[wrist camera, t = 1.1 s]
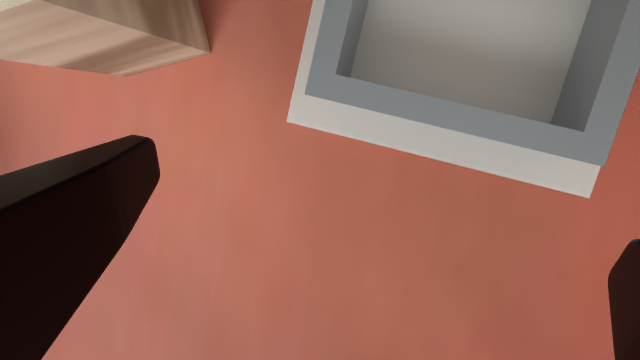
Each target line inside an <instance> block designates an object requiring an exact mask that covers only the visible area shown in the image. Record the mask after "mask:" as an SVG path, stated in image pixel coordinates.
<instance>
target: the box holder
mask: <svg viewBox="0 0 640 360" xmlns="http://www.w3.org/2000/svg"><path fill="white" fill-rule="evenodd" d="M639 68H640V0H313V3H312V8H311V12H310V17H309V21H308V26H307V30H306V35H305V39H304V44H303V48H302V53H301V57H300V62H299V66H298V71H297V75H296V80H295V85H294V89H293V94H292V98H291V103H290V107H289V112H288V116H287V121H286V122H290V123H294V124H298V125H302V126H306V127H309V128H313V129H317V130H321V131H325V132H329V133H333V134H337V135H341V136H345V137H349V138H353V139H357V140H361V141H365V142H369V143H373V144H377V145H381V146H384V147H388V148H392V149H396V150H400V151H404V152H408V153H412V154H416V155H420V156H424V157H428V158H432V159H436V160H440V161H444V162H448V163H452V164H456V165H459V166H463V167H467V168H471V169H475V170H479V171H483V172H487V173H491V174H495V175H499V176H503V177H507V178H511V179H515V180H519V181H523V182H527V183H531V184H534V185H538V186H542V187H546V188H550V189H554V190H558V191H562V192H566V193H570V194H574V195H578V196H582V197H586V198H590V195H591V192H592V190H593V187H594V184H595V181H596V178H597V176H598V173H599V170H600V167H601V166H602V167H604V166H605V163H606V160H607V157H608V155H609V152H610V149H611V146H612V143H613V141H614V138H615V135H616V132H617V130H618V127H619V124H620V121H621V118H622V116H623V113H624V110H625V107H626V105H627V102H628V99H629V96H630V93H631V91H632V88H633V85H634V82H635V80H636V77H637V74H638V71H639Z"/></svg>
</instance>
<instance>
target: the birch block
mask: <svg viewBox="0 0 640 360" xmlns="http://www.w3.org/2000/svg"><path fill="white" fill-rule="evenodd" d="M210 53H211V51H210V47H209V43H208V39H207V34H206V30H205V26H204V22H203V17H202V13H201V9H200V5H199V0H0V60H6V61H14V62H21V63H29V64H36V65H44V66H51V67H58V68H66V69H73V70H81V71H88V72H96V73H103V74H111V75H118V76H129V75H133V74H136V73H140V72H144V71H147V70H151V69H155V68H158V67H162V66H166V65H169V64H173V63H177V62H180V61H184V60H188V59H191V58H195V57H199V56H202V55H206V54H210Z"/></svg>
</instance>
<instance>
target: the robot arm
mask: <svg viewBox="0 0 640 360" xmlns="http://www.w3.org/2000/svg"><path fill="white" fill-rule="evenodd" d="M159 178H160V168H159V163H158V157H157V151H156V146H155V143H154V141H153V140H152V139H151V138H148V137H143V136H138V135H129V136H126V137H123V138H120V139H116V140H113V141H110V142H107V143H104V144H100V145H97V146H94V147H91V148H87V149H84V150H81V151H78V152H74V153H71V154H68V155H65V156H62V157H58V158H55V159H52V160H49V161H45V162H42V163H39V164H36V165H33V166H29V167H26V168H23V169H20V170H16V171H13V172H10V173H7V174H4V175H0V360H41V359H42V358H43V356H44V355H45V353H46V352H47V351H48V349H49V348H50V346H51V345H52V344H53V342H54V341H55V339H56V338H57V337H58V335H59V334H60V332H61V331H62V330H63V328H64V327H65V325H66V324H67V323H68V321H69V320H70V318H71V317H72V316H73V314H74V313H75V311H76V310H77V309H78V307H79V306H80V304H81V303H82V301H83V300H84V299H85V297H86V296H87V294H88V293H89V292H90V290H91V289H92V287H93V286H94V285H95V283H96V282H97V280H98V279H99V278H100V276H101V275H102V273H103V272H104V271H105V269H106V268H107V266H108V265H109V264H110V262H111V261H112V259H113V258H114V257H115V255H116V254H117V252H118V251H119V249H120V248H121V246H122V245H123V243H124V242H125V240H126V239H127V237H128V235H129V234H130V232H131V230H132V229H133V227H134V225H135V223H136V221H137V220H138V218H139V216H140V214H141V212H142V211H143V209H144V207H145V205H146V203H147V202H148V200H149V198H150V196H151V195H152V193H153V191H154V189H155V187H156V186H157V184H158V181H159ZM608 291H609V302H610V313H611V324H612V335H613V346H614V355H615V360H640V239H634V240H632V241H631V242H630V243H629V244H628V245H627V247H626V248H625V250H624V251H623V253H622V254H621V256H620V257H619V259H618V260H617V262H616V263H615V265H614V266H613V268H612V269H611V271H610V274H609V277H608Z"/></svg>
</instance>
